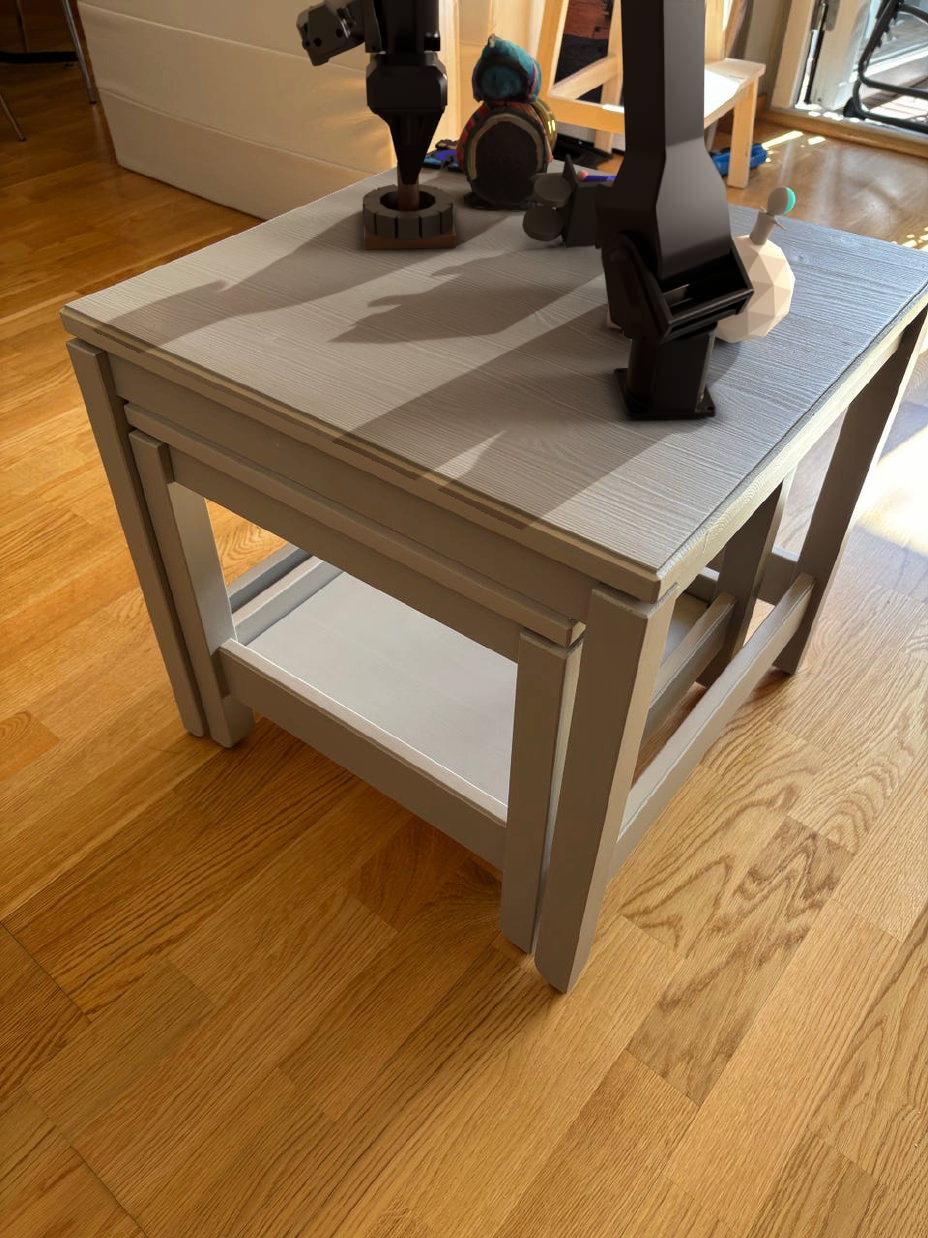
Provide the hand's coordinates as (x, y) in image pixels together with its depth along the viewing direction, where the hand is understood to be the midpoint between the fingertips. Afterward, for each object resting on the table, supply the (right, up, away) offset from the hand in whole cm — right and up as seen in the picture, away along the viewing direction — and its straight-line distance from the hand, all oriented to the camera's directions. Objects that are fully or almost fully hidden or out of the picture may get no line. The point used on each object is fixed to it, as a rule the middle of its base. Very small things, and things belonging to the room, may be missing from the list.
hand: (407, 164), depth 85 cm
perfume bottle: (+25, -17, -7) cm, 32 cm away
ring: (0, -3, +6) cm, 6 cm away
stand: (0, -3, +7) cm, 8 cm away
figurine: (+9, +3, +13) cm, 16 cm away
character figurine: (+18, -4, +6) cm, 19 cm away
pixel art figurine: (+2, +9, +19) cm, 21 cm away
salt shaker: (+10, +9, +13) cm, 19 cm away
